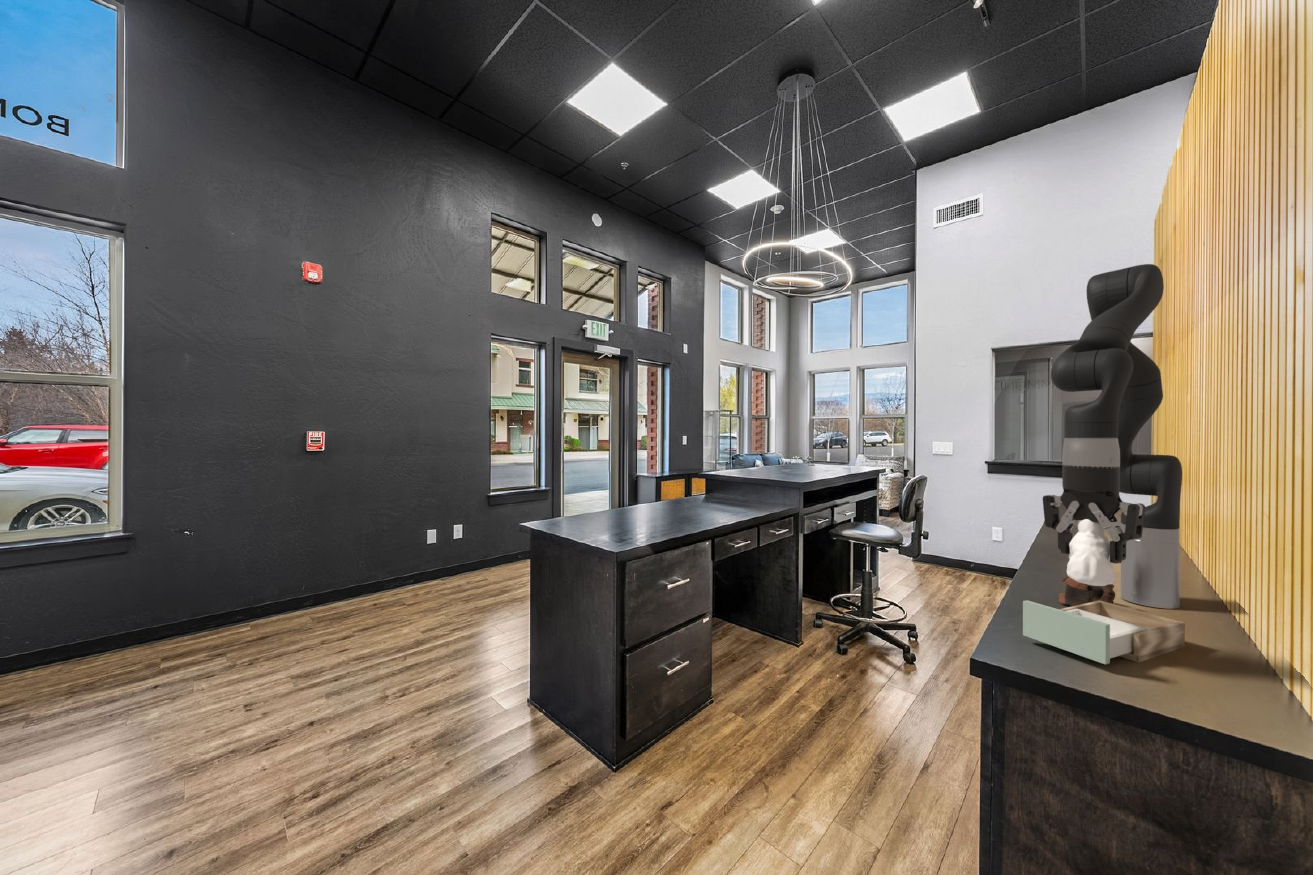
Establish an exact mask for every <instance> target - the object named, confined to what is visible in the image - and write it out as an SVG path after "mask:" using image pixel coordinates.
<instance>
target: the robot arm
mask: <svg viewBox="0 0 1313 875" xmlns="http://www.w3.org/2000/svg"><path fill="white" fill-rule="evenodd" d="M1164 288H1165V285H1164V276H1163V273H1162V270H1161V269H1160V267H1158V266H1157V265H1155V264H1152V263H1144V264H1137V265H1133V266H1130V267H1129V266H1128V267H1125V268H1122V269H1121V268H1120V269H1116V270H1112V271H1111V270H1110V271H1108V272H1102V273H1098V274H1096V275H1093V276H1091V277H1089V279H1088V281H1087V284H1086V301H1087V307H1088V312H1089V317H1090V322H1089V323H1088V324H1087V326H1086V327H1085V328H1084V329H1083V332H1082V334H1081V336H1080V338H1079V340H1077V341H1076V342H1074V343H1073V344H1072V345H1070V346H1069V347H1068V348H1066V349H1065V350H1063V351H1062V352H1061V353H1060V354H1059V355H1058V356H1057V358H1056V359H1055V360H1054V362H1053V364H1052V366H1051V369H1050V370H1051V371H1050V378H1051V382H1052V384H1053V385H1054V386H1055V387H1056V388H1057V389H1059V390H1060V391H1063V392H1069V393H1071V392H1073V393H1074V392H1075V393H1077V392H1089V391H1090V392H1091V391H1092V392H1093V391H1101V392H1100V395H1098V397H1097V398H1096V399H1094V400H1093V401H1090V402H1089V401H1088V402H1085V403H1081V404H1080V403H1079V404H1076V405H1072V406H1069V407H1067V409H1065V411H1064V421H1063V422H1064V426H1063V427H1064V429H1063V430H1064V432H1063V434H1064V440H1063V446H1062V457H1061V462H1062V476H1061V477H1062V480H1061V481H1062V484H1061V486H1062V489H1063V491H1062V494H1061V495H1055V494H1048V495H1043V497H1042V505H1043V507H1042V508H1043V516H1044V525H1045V527H1046V528H1051V529H1052V530H1055V531H1056V532H1057V548H1058V550H1059V551H1060V553H1061V554H1065V555H1069V553H1070V547H1069V544H1070V542H1071V540H1072V539H1073V533H1072V532H1071V531H1072V529H1073V528H1074V527H1075V525H1076V524H1075V522H1077V521H1078V520H1084V519H1089V520H1090V521H1092V522H1097V523H1100V525H1101V526H1102V528H1104V529H1105V532H1106V533H1107V534H1108V536H1109V537H1110V540H1109V542H1110V562H1111V563H1115V564H1114V565H1116V564H1120V598H1121V599H1123V600H1125V601H1127V602H1130V603H1133V604H1137V605H1142V606H1144V607H1145V606H1146V607H1151V608H1159V609H1169V610H1175V609H1179V608H1180V605H1181V604H1180V602H1181V601H1180V600H1181V597H1180V596H1181V595H1180V593H1181V592H1180V591H1181V590H1180V588H1181V585H1180V584H1181V583H1180V581H1181V576H1180V575H1181V574H1180V573H1181V572H1180V571H1181V570H1180V566H1181V564H1180V563H1181V558H1180V556H1181V552H1180V549H1181V547H1180V546H1181V545H1180V544H1181V543H1180V538H1181V536H1180V535H1181V534H1180V532H1181V530H1180V527H1181V525H1180V524H1181V522H1180V521H1181V497H1182V496H1181V494H1182V483H1183V468H1182V467H1183V466H1182V462H1181V461H1180V459H1179V458H1178V457H1177V456H1175V455H1169V454H1145V453H1144V454H1143V453H1142V454H1134V453H1133V448H1132V447H1133V443H1134V440H1135V439H1136V437H1137V435H1138V434H1139V432H1140V431H1141V429H1142V428H1143V426H1144V425H1145V424H1146V423H1147V422H1148V421H1149V420H1150V419H1151V417H1152V416H1153V415H1154V414H1155V413H1156V411H1157V410H1158V409H1159V407H1160V406H1161V404H1162V402H1163V399H1164V392H1163V384H1162V382H1163V381H1162V376H1161V375H1162V373H1161V369H1160V368H1159V366H1158V365H1157V363H1156V362H1155V361H1154V360H1153V359H1152V358H1151V357H1150V356H1148V354H1146V353H1145V352H1143V351H1142V350H1141V349H1140V348H1138V346H1136V345H1135V344H1133V342H1131V341H1132V339H1133V336H1134V334H1135V333H1136V331H1137V329H1138V328H1139V327H1140V326H1141V325H1142V323H1144V322H1145V320H1147V318H1149V316H1150V315H1151V313H1153V311H1155V309H1156V308H1157V307H1158V306H1159V304H1160V302H1161V300H1162V298H1163V295H1164ZM1120 493H1121V494H1126V495H1128V494H1129V495H1137V496H1138V495H1141V496H1152V497H1153V496H1154V497H1157V498H1156V500H1155V502H1154V503H1152V504H1149V505H1147V506H1145V504H1144V503H1132V502H1124V501H1123V500H1122V498H1121V497H1120ZM1061 504H1062V505H1063V506H1064V508H1065V509H1066V511H1065V512H1064V514H1062V516H1061V518H1060V510H1059V507H1060V506H1061ZM1119 510H1122V512H1121V513H1120V519H1119V517H1118V516H1117V515H1116V514H1117V513H1118V512H1119ZM1073 523H1074V524H1073Z"/></svg>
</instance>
